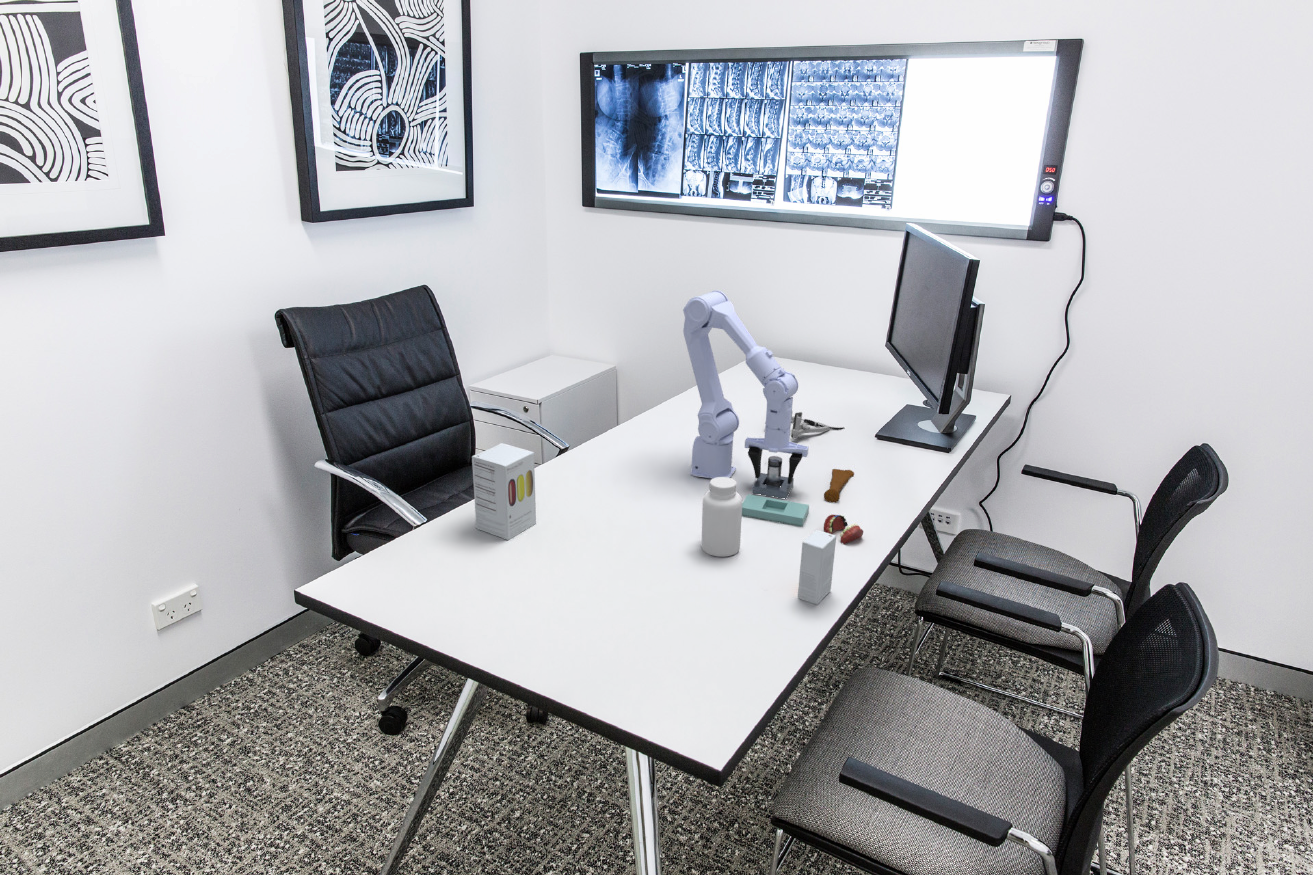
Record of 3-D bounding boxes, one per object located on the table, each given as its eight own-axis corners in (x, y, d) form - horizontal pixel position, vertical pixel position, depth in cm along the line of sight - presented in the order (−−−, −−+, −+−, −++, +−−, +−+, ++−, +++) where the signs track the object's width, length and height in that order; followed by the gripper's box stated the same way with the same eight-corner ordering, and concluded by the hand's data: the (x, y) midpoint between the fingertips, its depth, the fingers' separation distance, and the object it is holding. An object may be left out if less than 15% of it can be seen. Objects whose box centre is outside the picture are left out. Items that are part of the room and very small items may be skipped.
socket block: (752, 493, 197) (752, 486, 196) (760, 480, 204) (760, 472, 203) (786, 499, 195) (786, 492, 194) (793, 485, 202) (793, 478, 201)
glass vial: (764, 491, 199) (766, 460, 195) (767, 486, 201) (770, 455, 198) (778, 493, 198) (780, 462, 194) (781, 488, 200) (783, 457, 197)
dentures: (850, 529, 174) (821, 514, 180) (847, 547, 175) (819, 532, 181) (868, 523, 177) (839, 508, 183) (865, 541, 178) (837, 526, 184)
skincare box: (810, 583, 162) (816, 528, 157) (831, 591, 160) (837, 535, 155) (796, 598, 157) (801, 541, 153) (817, 605, 155) (823, 548, 150)
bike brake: (797, 443, 224) (843, 436, 238) (802, 418, 222) (847, 413, 236) (759, 429, 234) (805, 423, 247) (763, 405, 232) (809, 400, 245)
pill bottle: (698, 539, 177) (701, 473, 171) (736, 538, 178) (740, 473, 172) (703, 558, 170) (706, 491, 164) (742, 557, 170) (747, 490, 165)
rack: (739, 515, 187) (740, 507, 186) (747, 502, 193) (747, 494, 192) (802, 526, 183) (803, 518, 182) (808, 512, 189) (809, 504, 188)
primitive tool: (832, 470, 212) (834, 457, 210) (854, 473, 210) (856, 460, 209) (822, 503, 195) (823, 489, 193) (846, 507, 193) (848, 493, 192)
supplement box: (508, 541, 175) (504, 466, 168) (474, 529, 179) (469, 456, 173) (537, 523, 182) (535, 451, 176) (505, 511, 187) (501, 441, 180)
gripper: (742, 427, 192) (739, 481, 197) (806, 436, 187) (801, 491, 193) (750, 416, 198) (746, 469, 203) (812, 425, 194) (807, 479, 199)
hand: (773, 479), depth 198 cm, fingers open, 7 cm apart
